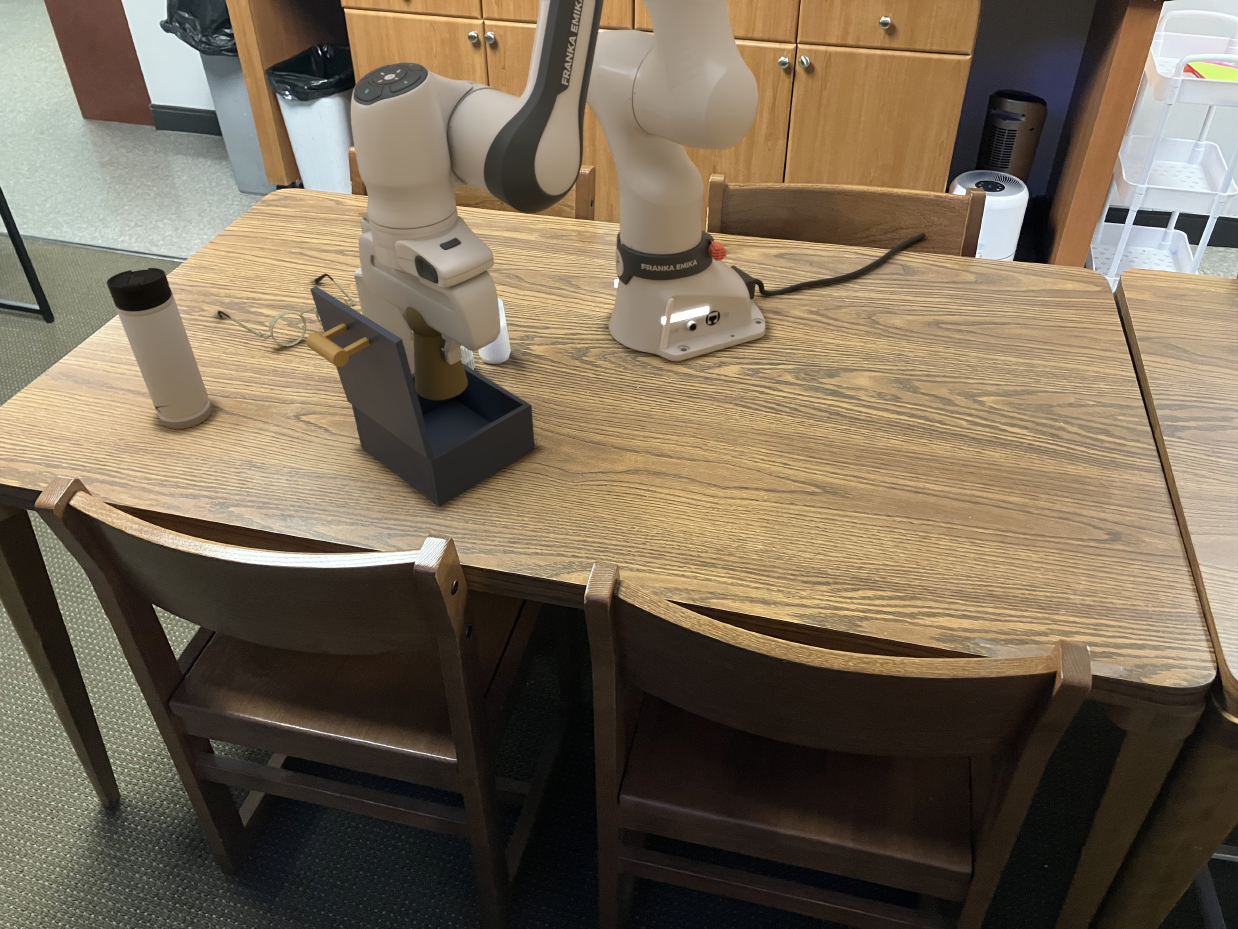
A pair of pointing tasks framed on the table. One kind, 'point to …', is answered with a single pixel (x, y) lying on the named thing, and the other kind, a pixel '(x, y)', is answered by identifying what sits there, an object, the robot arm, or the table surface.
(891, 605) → the table surface
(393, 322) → the cosmetic box
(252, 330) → the round eyeglasses
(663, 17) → the robot arm
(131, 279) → the travel mug
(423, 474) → the chest
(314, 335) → the lid
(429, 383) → the brown pawn
